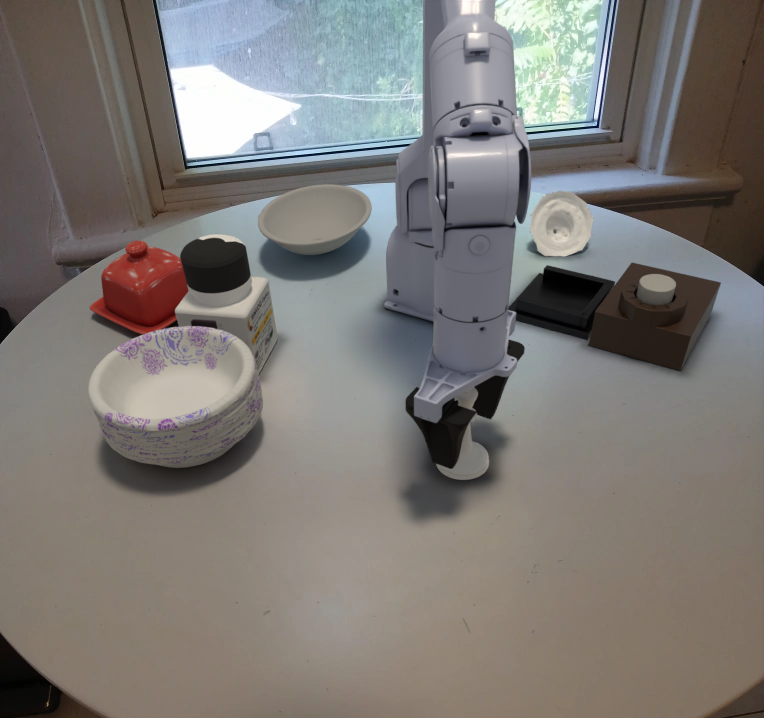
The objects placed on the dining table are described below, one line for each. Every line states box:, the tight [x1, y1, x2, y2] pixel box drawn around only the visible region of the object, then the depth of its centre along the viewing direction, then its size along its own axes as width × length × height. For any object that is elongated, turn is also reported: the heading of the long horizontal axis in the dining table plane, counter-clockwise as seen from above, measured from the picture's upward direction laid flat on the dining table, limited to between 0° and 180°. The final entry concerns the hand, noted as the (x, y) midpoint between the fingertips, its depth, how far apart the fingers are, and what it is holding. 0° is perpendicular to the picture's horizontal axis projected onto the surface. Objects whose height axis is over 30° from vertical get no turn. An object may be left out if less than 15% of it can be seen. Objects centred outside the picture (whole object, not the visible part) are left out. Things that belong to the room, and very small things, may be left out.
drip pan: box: [508, 264, 616, 340], centre depth 85 cm, size 10×10×2 cm
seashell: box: [529, 190, 595, 257], centre depth 95 cm, size 8×5×8 cm
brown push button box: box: [588, 262, 722, 371], centre depth 79 cm, size 10×12×6 cm
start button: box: [636, 274, 676, 305], centre depth 75 cm, size 4×4×2 cm
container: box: [175, 233, 279, 375], centre depth 77 cm, size 8×8×13 cm
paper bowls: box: [87, 326, 264, 469], centre depth 69 cm, size 15×15×8 cm
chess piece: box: [435, 387, 490, 481], centre depth 64 cm, size 5×5×10 cm
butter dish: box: [89, 240, 189, 335], centre depth 86 cm, size 12×12×8 cm
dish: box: [257, 183, 373, 256], centre depth 96 cm, size 18×14×5 cm
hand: (463, 438), depth 66 cm, fingers open, 7 cm apart
